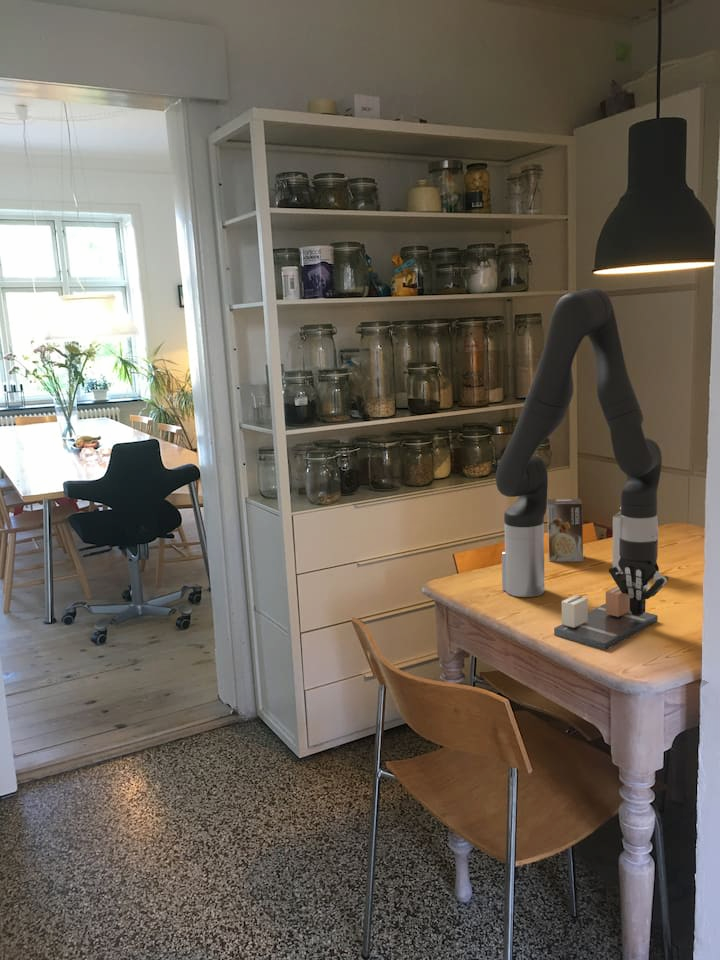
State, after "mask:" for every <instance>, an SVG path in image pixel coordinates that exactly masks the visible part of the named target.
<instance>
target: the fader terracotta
mask: <svg viewBox="0 0 720 960" xmlns="http://www.w3.org/2000/svg"><path fill="white" fill-rule="evenodd" d="M605 603H606V614H609V615H613V616H617V617H619V616H621V615H623V614H625V613H627V612H629V611H630V597H629V596H628V595H627V594H625V593H622V592H621V590H620V589H619V587H618V586H617V585H616V586H614V587H611V588H610V589H608V590H606V591H605Z"/></svg>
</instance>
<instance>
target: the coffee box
mask: <svg viewBox="0 0 720 960" xmlns="http://www.w3.org/2000/svg"><path fill="white" fill-rule="evenodd" d="M583 526H584V525H583V501H582V500H581V498H551V499H550V498H547V534H548V535H547V540H548V541H547V542H548V543H547V544H548V561H549V562H569V563H570V562H571V563H572V562H574V563H575V562H576V563H577V562H580V563H581V562H582V563H583V562H584V538H583V537H584V532H583V531H584V529H583Z"/></svg>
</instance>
